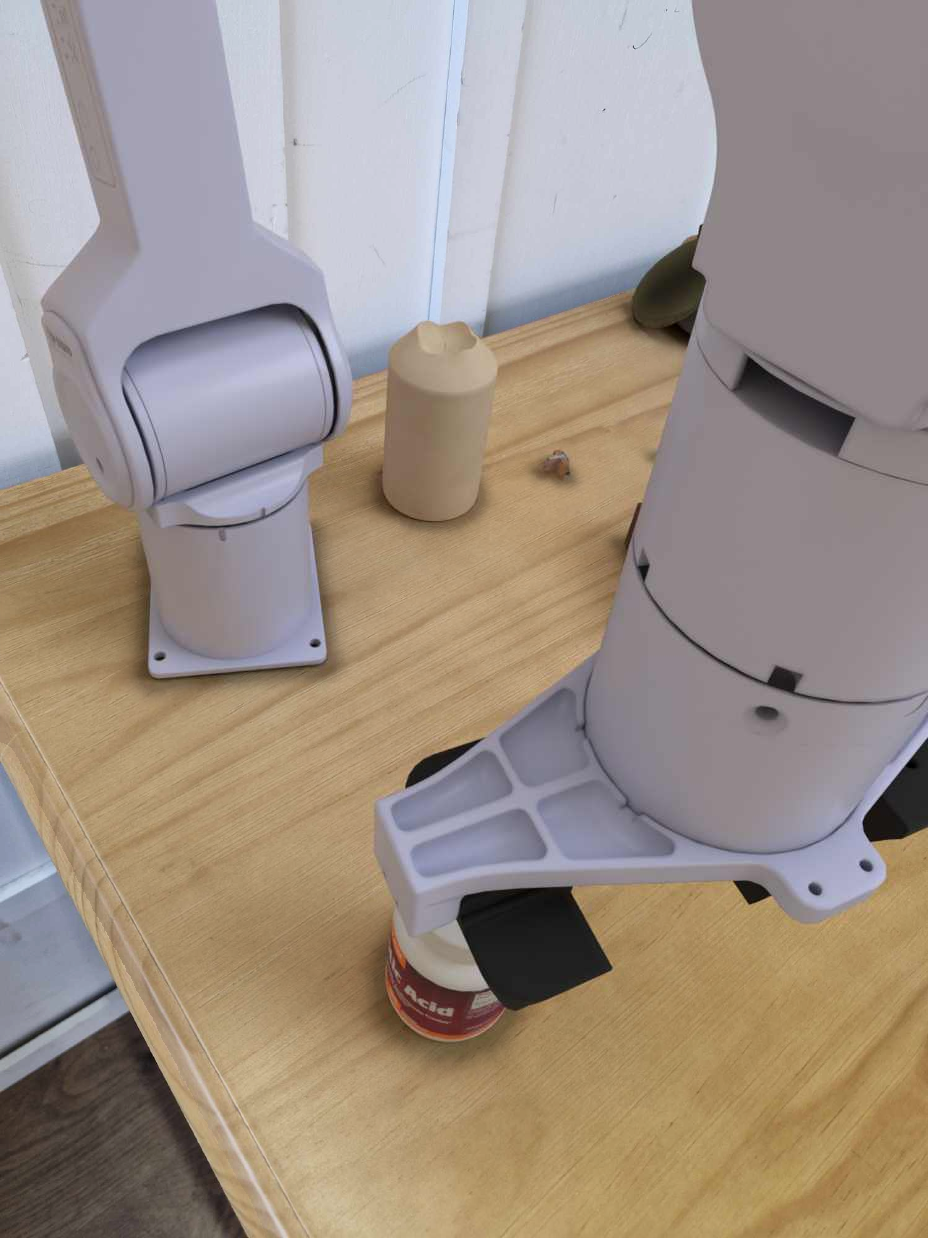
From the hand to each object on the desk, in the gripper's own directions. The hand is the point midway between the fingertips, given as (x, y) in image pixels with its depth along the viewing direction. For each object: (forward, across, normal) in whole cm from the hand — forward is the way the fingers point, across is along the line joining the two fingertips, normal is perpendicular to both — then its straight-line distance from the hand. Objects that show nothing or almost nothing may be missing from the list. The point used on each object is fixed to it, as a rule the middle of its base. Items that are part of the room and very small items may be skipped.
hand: (627, 919), depth 25 cm
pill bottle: (+10, -3, +4) cm, 11 cm away
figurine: (+9, +18, +28) cm, 34 cm away
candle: (+9, +7, +29) cm, 31 cm away
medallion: (+5, +31, +41) cm, 52 cm away
